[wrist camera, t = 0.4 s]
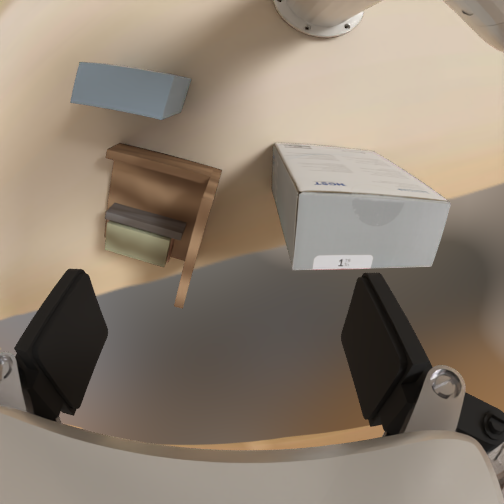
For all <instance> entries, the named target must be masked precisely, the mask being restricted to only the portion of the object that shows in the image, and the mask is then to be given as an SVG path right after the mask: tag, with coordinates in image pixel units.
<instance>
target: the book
mask: <svg viewBox="0 0 504 504" xmlns="http://www.w3.org/2000/svg"><path fill="white" fill-rule="evenodd" d="M190 82H191V79H190V78H186V77H182V76H177V75H172V74H167V73H163V72H157V71H152V70H146V69H140V68H134V67H128V66H121V65H113V64H101V63H87V62H80V63H79V67H78V71H77V75H76V79H75V83H74V88H73V92H72V97H71V102H70V103H76V104H83V105H89V106H95V107H101V108H107V109H112V110H117V111H123V112H128V113H132V114H137V115H142V116H146V117H151V118H155V119H160V120H163V119H165V118H168V117H170V116H173V115H175V114H178V113H180V112H181V111H182V107H183V104H184V101H185V98H186V94H187V91H188V88H189V85H190Z"/></svg>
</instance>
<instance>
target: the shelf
mask: <svg viewBox="0 0 504 504" xmlns="http://www.w3.org/2000/svg"><path fill="white" fill-rule="evenodd" d="M106 158H108V159H112V160H114V164H113V170H112V176H111V183H110V190H109V198H108V206H107V211H106V216H105V219H106V225H105V237H106V240H105V250H108V251H111V252H114V253H117V254H121V255H124V256H127V257H131V258H134V259H137V260H141V261H144V262H147V263H151V264H154V265H158V266H161V267H164V266H165V264H166V262H169V259H170V257H174V258H177V259H181V260H184V261H185V263H184V267H183V271H182V275H181V279H180V283H179V288H178V292H177V296H176V300H175V305H174V306H175V307H179V308H183V305H184V302H185V298H186V294H187V290H188V286H189V283H190V279H191V275H192V272H193V268H194V265H195V261H196V257H197V254H198V250H199V247H200V244H201V240H202V237H203V233H204V230H205V227H206V223H207V220H208V217H209V213H210V210H211V207H212V203H213V200H214V197H215V193H216V189H217V186H218V182H219V179H220V175H221V172H222V170H220V169H217V168H213V167H210V166H206V165H203V164H199V163H196V162H192V161H189V160H185V159H181V158H178V157H174V156H170V155H167V154H163V153H159V152H155V151H151V150H147V149H143V148H139V147H135V146H130V145H126V144H122V143H119V144H117V145H115V146H113V147H111V148H109V149H107V152H106Z"/></svg>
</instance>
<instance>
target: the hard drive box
mask: <svg viewBox="0 0 504 504" xmlns="http://www.w3.org/2000/svg"><path fill="white" fill-rule="evenodd" d="M272 192H273V195H274V199H275V203H276V206H277V210H278V214H279V218H280V222H281V226H282V230H283V234H284V237H285V241H286V245H287V249H288V253H289V256H290V260H291V264H292V270H329V269H330V270H331V269H368V268H399V267H427V266H432V263H433V260H434V258H435V255H436V252H437V249H438V246H439V243H440V240H441V236H442V233H443V230H444V226H445V223H446V219H447V215H448V211H449V208H450V202H449V201H448V200H447V199H445V198H444V197H443V196H441V195H440V194H439V193H437V192H436V191H434V190H433V189H432V188H430V187H429V186H427V185H426V184H425V183H423V182H422V181H420V180H419V179H417V178H416V177H414V176H413V175H411V174H410V173H408V172H407V171H405V170H404V169H402V168H401V167H399V166H397V165H396V164H394V163H393V162H391V161H389V160H388V159H386V158H384V157H383V156H381V155H379V154H378V153H376V152H374V151H368V150H359V149H351V148H341V147H332V146H320V145H308V144H290V143H275V145H273V164H272Z"/></svg>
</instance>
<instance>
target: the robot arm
mask: <svg viewBox="0 0 504 504" xmlns="http://www.w3.org/2000/svg"><path fill="white" fill-rule="evenodd" d="M381 1H383V0H281V2H278V0H273V2H274V5H275V8H276V10H277V11H278V13H279V15H280V16H281V17H282V18H283V19H284V21H286V22H287V23H288V24H289V25H290V26H292V27H293V28H295V29H296V30H298V31H300V32H302V33H305V34H307V35H311V36H315V37H322V38H329V37H336V36H341V35H343V34H346V33H348V32H350V31H351V30H353V29H354V28H355V27H356V26H357V25H358V24H359V22H360V21H361V19H362V17H363V14H364V10H366V9H368V8H370V7H371V6H373V5H375V4H377V3H379V2H381ZM443 1H444V2H445V3H446V4H447V5H448V6H449V7H450V8H451V9H453V10H454V11H455V12H456V13H457V14H458V15H459V16H460V17H461V18H462V19H463V20H464V21H465V22H466V23H467V24H468V25H469V26H470V27H471V28H472V29H473V30H474V31H475V32H476V33H477V34H478V35H479V36H480V37H481V38H482V39H483V40H484V41H485V42H487V43H488V44H489V45H490V46H492V47H494V48H495V49H497V50H499V51H502V52H504V0H443ZM344 26H346V27H347V29H346V28H345V27H344ZM305 27H307V28H308V30H306V29H305ZM107 336H108V329H107V326H106V323H105V320H104V318H103V315H102V313H101V310H100V307H99V304H98V301H97V299H96V296H95V293H94V290H93V287H92V284H91V281H90V277H89V275H88V274H86V273H85V271H84V270H82V269H68V270H67V271H66V272H65V274H64V275H63V276H62V278H61V279H60V280H59V282H58V283H57V284H56V286H55V287H54V288H53V290H52V291H51V293H50V294H49V295H48V297H47V298H46V300H45V301H44V303H43V304H42V306H41V307H40V308H39V310H38V311H37V313H36V315H35V316H34V317H33V319H32V321H31V322H30V324H29V325H28V327H27V328H26V330H25V332H24V333H23V335H22V336H21V338H20V340H19V341H18V343H17V344H16V346H15V348H14V349H15V350H16V352H17V354H16V356H14V355H13V354H12V353H9V352H1V353H0V504H504V413H503V412H502V411H501V410H499V409H498V408H496V407H493V406H491V405H489V404H487V403H485V402H483V401H482V400H480V399H478V398H476V397H474V396H472V395H470V394H468V393H466V392H465V382H464V379H463V378H462V376H461V375H460V374H459V373H458V372H457V371H456V370H455V369H453V368H451V367H449V366H445V365H439V366H435V367H432V365H431V363H430V361H429V359H428V357H427V355H426V353H425V351H424V349H423V347H422V346H421V343H420V342H419V340H418V338H417V336H416V334H415V332H414V330H413V328H412V326H411V325H410V323H409V321H408V319H407V317H406V316H405V314H404V312H403V311H402V309H401V307H400V305H399V304H398V302H397V300H396V298H395V297H394V295H393V293H392V291H391V290H390V288H389V286H388V285H387V283H386V282H385V280H384V278H383V277H382V275H381V274H380V273H364V274H363V275H362V277H359V278H358V279H357V282H356V286H355V289H354V293H353V296H352V300H351V303H350V307H349V310H348V314H347V317H346V320H345V324H344V327H343V330H342V334H341V341H342V345H343V348H344V351H345V354H346V358H347V361H348V364H349V368H350V371H351V374H352V378H353V381H354V385H355V388H356V392H357V395H358V399H359V403H360V406H361V410H362V413H363V416H364V418H365V419H368V420H369V423H370V427H372V426H377V425H382V426H383V429H384V431H385V432H384V434H383V436H382V437H380V438H375V439H369V440H363V441H357V442H351V443H344V444H336V445H328V446H320V447H310V448H298V449H283V450H211V449H196V448H184V447H175V446H166V445H158V444H151V443H145V442H139V441H133V440H127V439H122V438H117V437H112V436H108V435H103V434H99V433H95V432H91V431H87V430H83V429H79V428H76V427H72V426H69V425H65V424H62V423H61V420H60V417H59V414H60V411H62V412H63V413H66V414H70V415H74V414H75V411H76V409H78V408H79V407H80V406H81V403H82V400H83V397H84V395H85V392H86V389H87V386H88V384H89V381H90V378H91V376H92V373H93V371H94V368H95V366H96V363H97V360H98V358H99V355H100V353H101V350H102V348H103V346H104V343H105V341H106V339H107Z"/></svg>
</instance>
